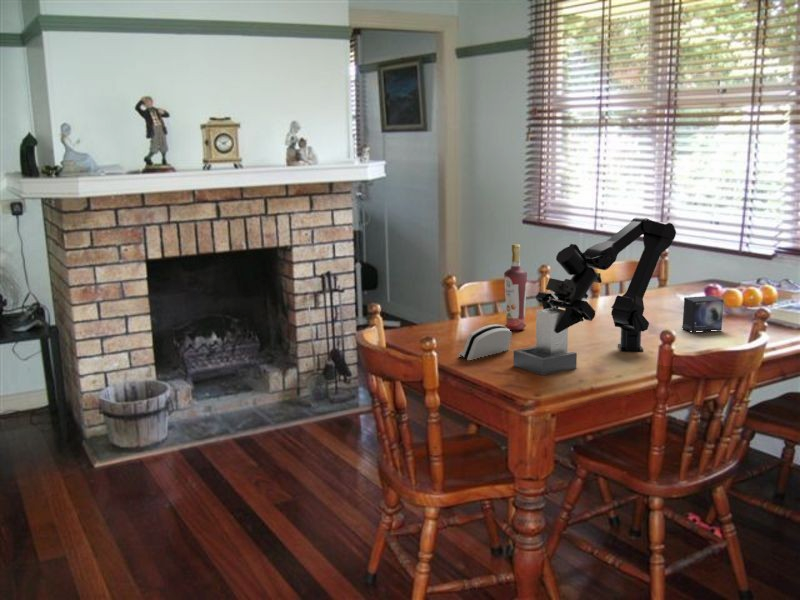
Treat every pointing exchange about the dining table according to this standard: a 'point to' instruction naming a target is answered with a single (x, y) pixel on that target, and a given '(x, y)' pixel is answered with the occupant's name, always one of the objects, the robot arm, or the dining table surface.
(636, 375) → the dining table surface
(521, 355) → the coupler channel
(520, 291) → the liquor
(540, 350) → the block
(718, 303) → the small box
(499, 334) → the grey rounded block
